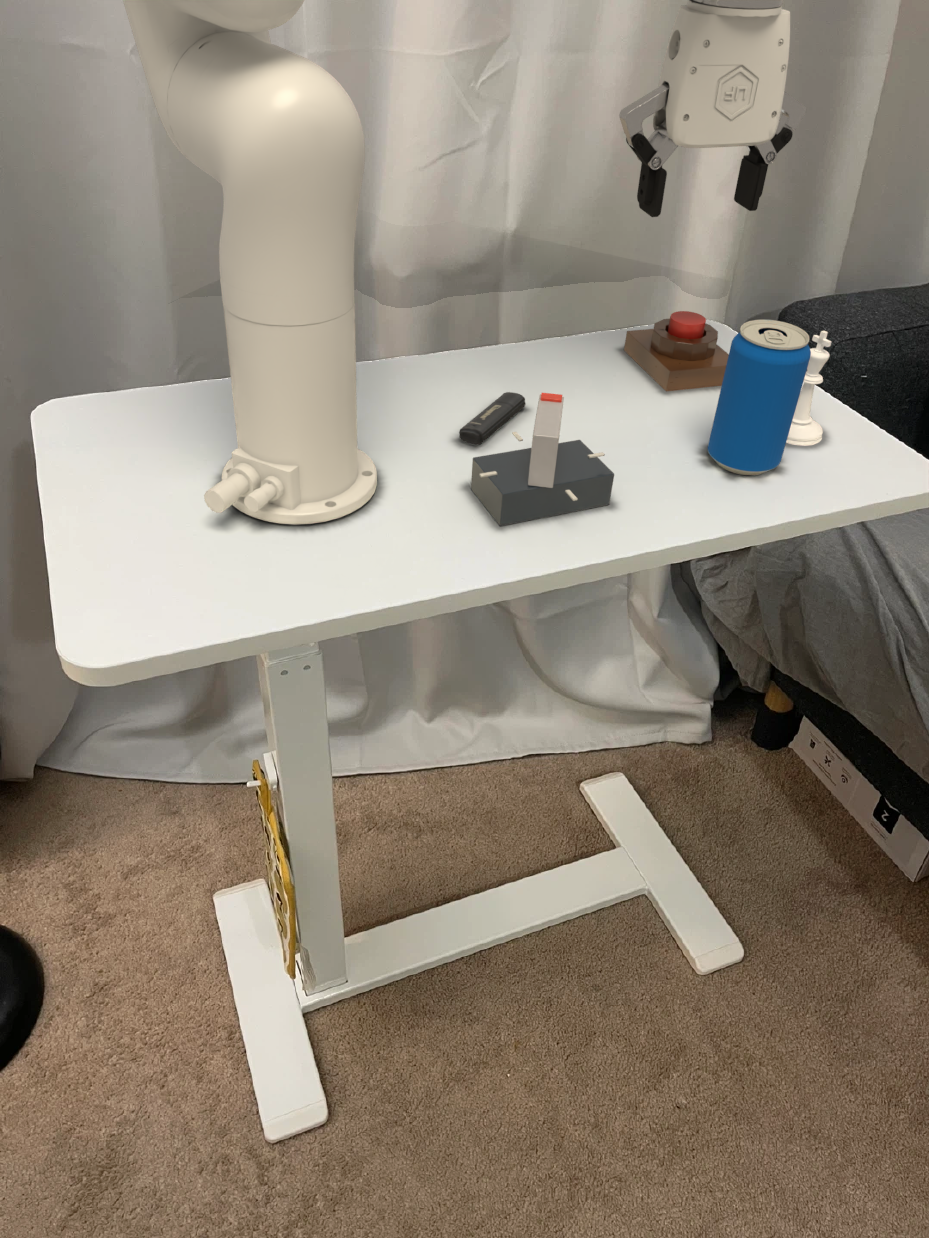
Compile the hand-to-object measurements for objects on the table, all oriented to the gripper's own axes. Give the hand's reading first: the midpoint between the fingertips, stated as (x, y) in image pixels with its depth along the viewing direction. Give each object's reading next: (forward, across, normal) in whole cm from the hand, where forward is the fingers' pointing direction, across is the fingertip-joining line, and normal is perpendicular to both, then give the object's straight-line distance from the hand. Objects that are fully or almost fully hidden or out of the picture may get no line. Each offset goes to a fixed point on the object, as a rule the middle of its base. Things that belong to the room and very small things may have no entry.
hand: (697, 209), depth 91 cm
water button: (+13, +3, +3) cm, 14 cm away
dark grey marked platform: (+17, -20, -18) cm, 32 cm away
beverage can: (+17, 0, -16) cm, 23 cm away
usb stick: (+17, -20, -5) cm, 27 cm away
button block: (+17, +3, +3) cm, 18 cm away
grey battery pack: (+14, -20, -18) cm, 30 cm away
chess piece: (+17, +7, -12) cm, 23 cm away
